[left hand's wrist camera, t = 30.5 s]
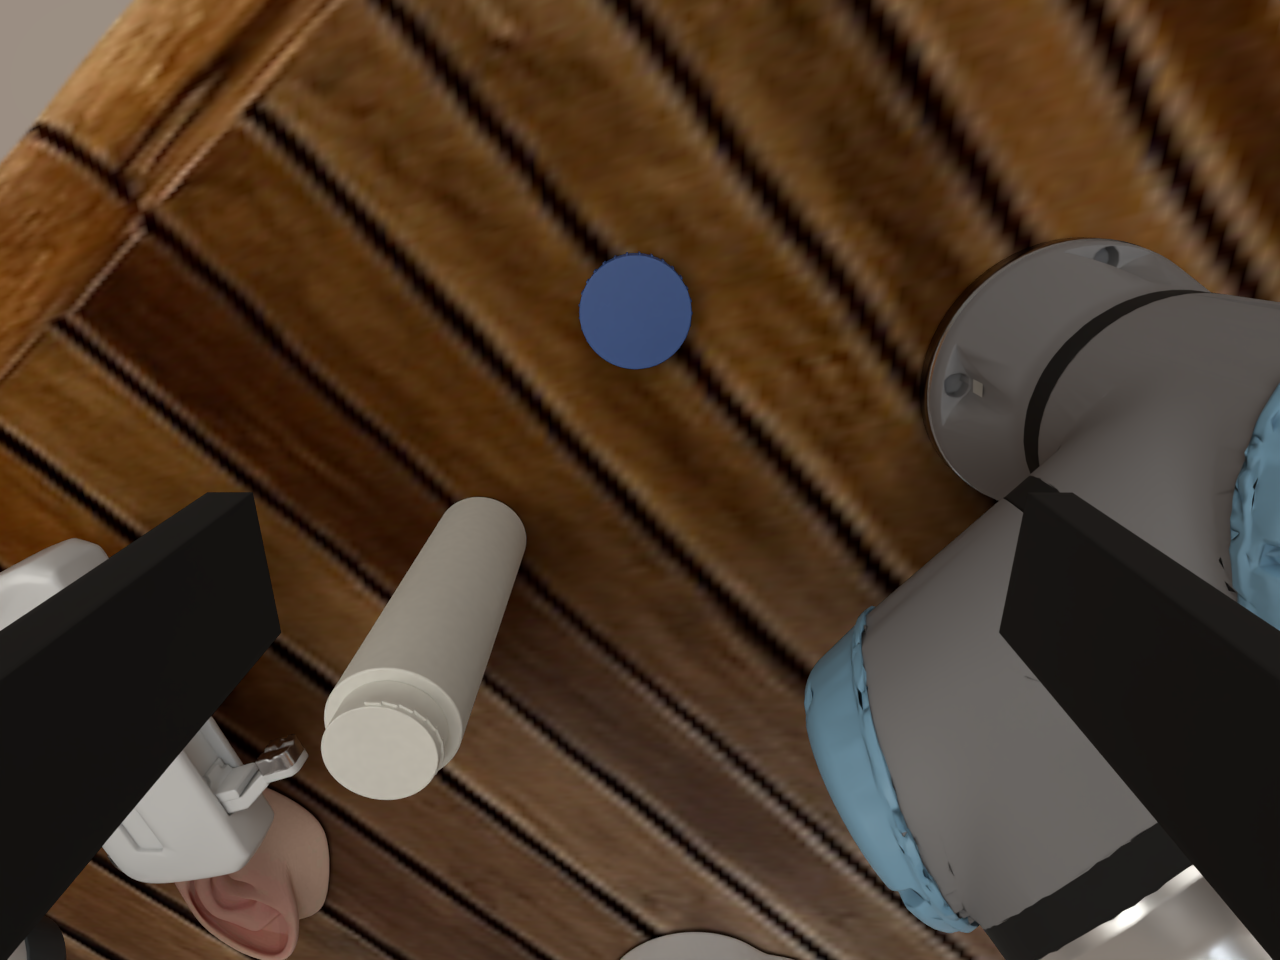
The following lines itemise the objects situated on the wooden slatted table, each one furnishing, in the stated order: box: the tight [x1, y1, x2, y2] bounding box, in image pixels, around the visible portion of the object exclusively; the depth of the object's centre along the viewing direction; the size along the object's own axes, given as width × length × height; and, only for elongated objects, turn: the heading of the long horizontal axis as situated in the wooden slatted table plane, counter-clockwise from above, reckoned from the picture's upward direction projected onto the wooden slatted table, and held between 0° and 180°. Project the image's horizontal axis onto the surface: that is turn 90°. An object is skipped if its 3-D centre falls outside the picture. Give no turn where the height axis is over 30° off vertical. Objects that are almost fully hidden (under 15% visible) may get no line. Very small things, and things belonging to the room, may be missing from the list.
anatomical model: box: [174, 787, 329, 960], centre depth 53 cm, size 13×4×12 cm
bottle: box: [321, 497, 526, 800], centre depth 37 cm, size 6×6×19 cm
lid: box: [579, 252, 693, 369], centre depth 40 cm, size 6×6×2 cm
